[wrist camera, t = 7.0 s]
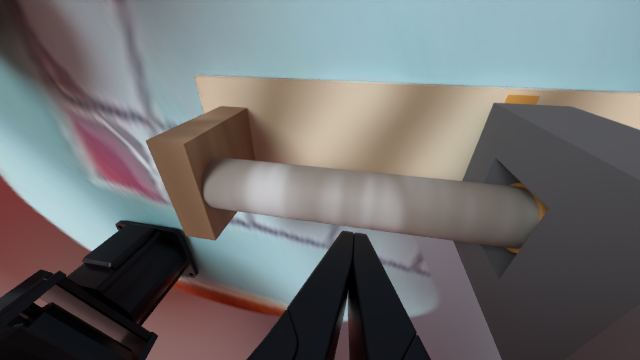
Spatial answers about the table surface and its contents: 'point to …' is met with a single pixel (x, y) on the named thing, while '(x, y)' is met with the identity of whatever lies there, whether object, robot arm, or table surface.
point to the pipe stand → (355, 156)
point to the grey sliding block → (562, 235)
